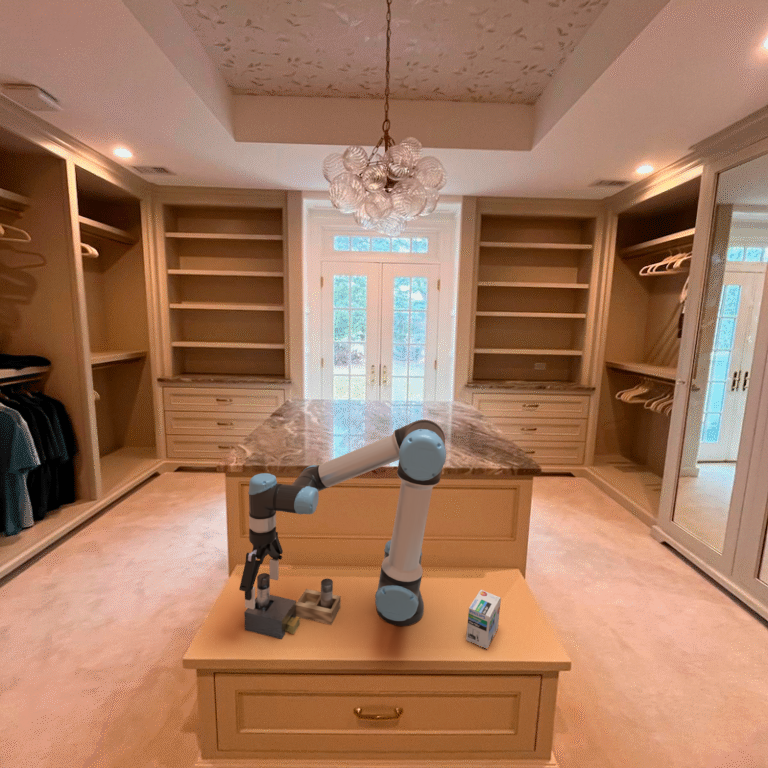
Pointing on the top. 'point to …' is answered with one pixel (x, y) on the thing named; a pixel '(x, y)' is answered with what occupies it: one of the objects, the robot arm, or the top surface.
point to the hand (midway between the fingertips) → (262, 592)
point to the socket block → (271, 617)
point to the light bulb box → (483, 618)
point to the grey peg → (263, 591)
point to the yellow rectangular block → (292, 624)
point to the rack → (319, 604)
